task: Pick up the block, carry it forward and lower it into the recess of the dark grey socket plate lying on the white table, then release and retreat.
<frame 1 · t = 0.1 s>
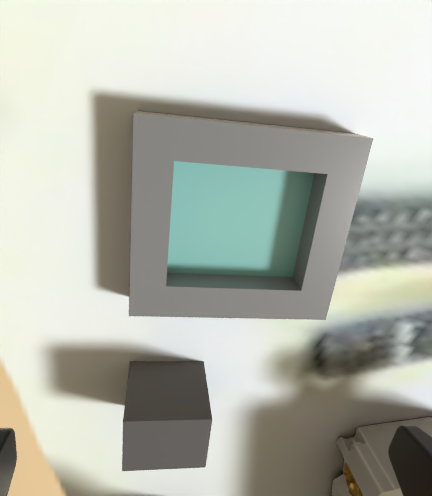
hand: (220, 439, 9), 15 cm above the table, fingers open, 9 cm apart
socket: (237, 220, 22), on the table
block: (165, 383, 27), on the table
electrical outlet: (382, 484, 35), on the table
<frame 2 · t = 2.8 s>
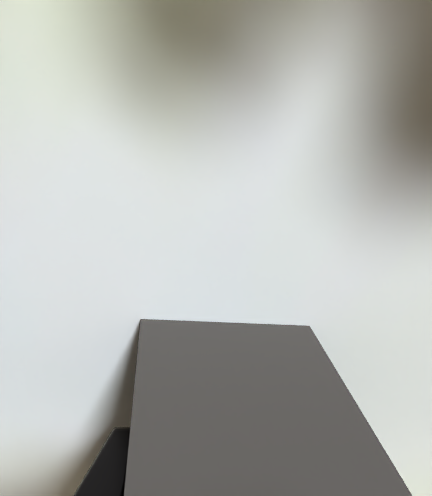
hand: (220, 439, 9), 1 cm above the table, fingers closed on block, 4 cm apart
block: (214, 404, 10), on the table, touching gripper
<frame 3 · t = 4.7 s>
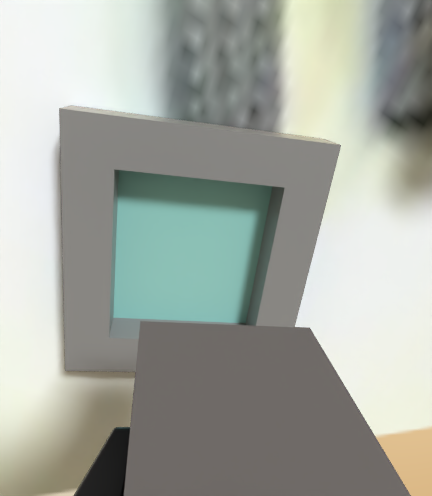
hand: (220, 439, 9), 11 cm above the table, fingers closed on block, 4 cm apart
socket: (189, 249, 19), on the table
block: (214, 406, 10), point 10 cm above the table, touching gripper
when the fingers open (3 cm above the table, at t = 6.7 s): block drops 2 cm, resting on socket.
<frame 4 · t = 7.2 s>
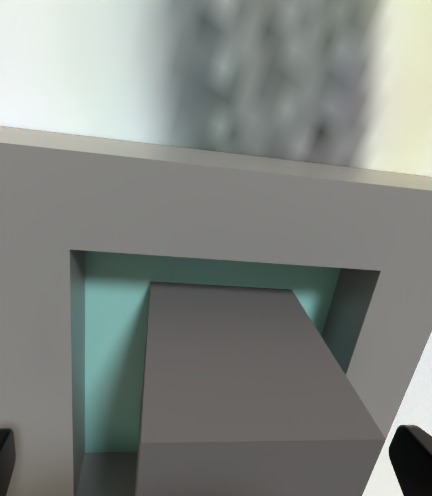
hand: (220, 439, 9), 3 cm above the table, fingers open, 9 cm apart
socket: (204, 349, 12), on the table
block: (211, 357, 11), resting on socket
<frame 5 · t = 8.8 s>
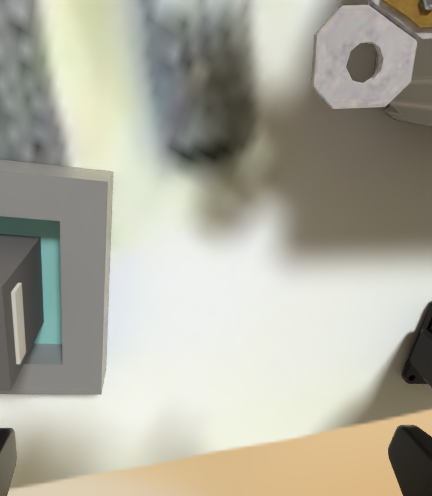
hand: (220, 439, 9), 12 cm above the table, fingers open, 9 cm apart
block: (0, 279, 19), resting on socket
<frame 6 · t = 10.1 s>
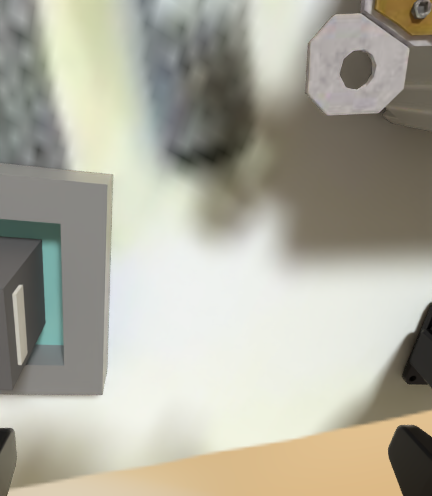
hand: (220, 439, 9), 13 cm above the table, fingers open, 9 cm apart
socket: (1, 277, 20), on the table
block: (2, 281, 19), resting on socket
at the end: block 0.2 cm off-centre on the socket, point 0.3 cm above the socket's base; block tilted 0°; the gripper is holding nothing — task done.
